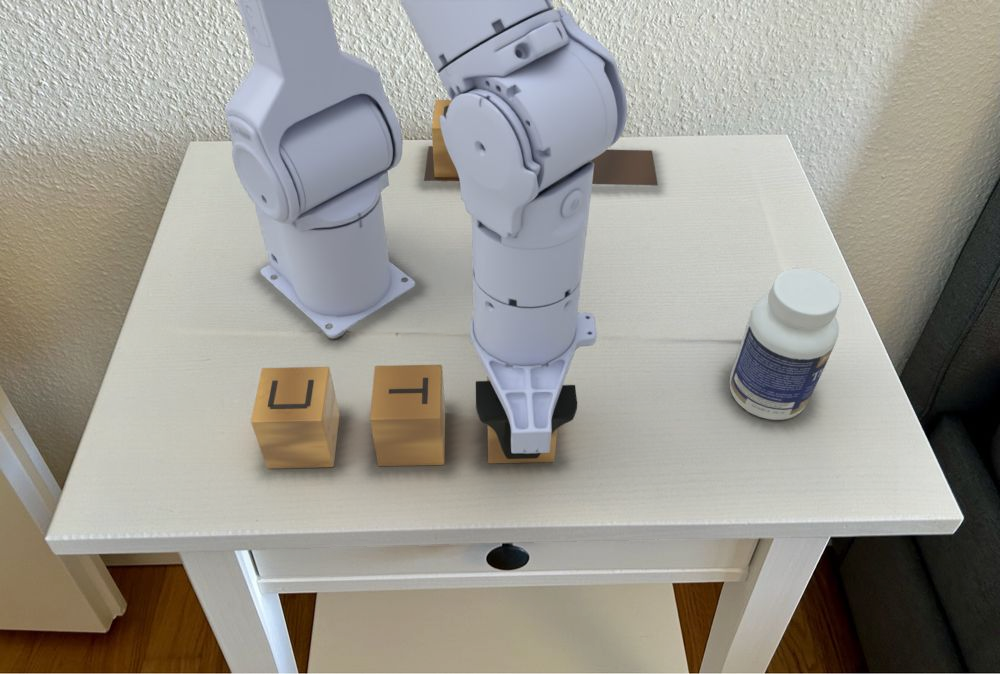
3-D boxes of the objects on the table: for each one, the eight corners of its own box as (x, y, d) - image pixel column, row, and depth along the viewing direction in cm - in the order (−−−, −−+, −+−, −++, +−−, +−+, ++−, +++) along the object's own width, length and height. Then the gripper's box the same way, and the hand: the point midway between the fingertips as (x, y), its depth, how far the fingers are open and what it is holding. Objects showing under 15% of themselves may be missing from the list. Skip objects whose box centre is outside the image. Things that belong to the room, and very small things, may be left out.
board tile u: (434, 177, 73) (431, 127, 69) (438, 148, 75) (435, 98, 72) (483, 178, 72) (483, 128, 69) (485, 149, 75) (484, 99, 72)
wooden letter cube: (488, 463, 54) (488, 416, 50) (487, 410, 57) (486, 362, 53) (554, 462, 54) (558, 414, 50) (549, 409, 57) (553, 360, 53)
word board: (424, 185, 73) (423, 180, 72) (428, 151, 76) (428, 145, 76) (656, 190, 73) (658, 185, 72) (651, 155, 76) (652, 150, 75)
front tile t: (378, 466, 54) (369, 419, 50) (382, 413, 56) (374, 364, 53) (444, 465, 54) (440, 418, 50) (445, 412, 57) (442, 363, 53)
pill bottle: (809, 429, 56) (857, 329, 49) (727, 415, 57) (762, 315, 49) (806, 367, 59) (850, 266, 52) (728, 355, 60) (761, 254, 53)
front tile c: (267, 469, 53) (250, 421, 50) (276, 415, 56) (261, 366, 52) (333, 467, 54) (322, 420, 50) (340, 414, 56) (329, 365, 53)
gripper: (621, 375, 39) (594, 522, 49) (589, 181, 49) (572, 338, 59) (469, 378, 39) (473, 525, 49) (467, 183, 49) (471, 339, 59)
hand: (520, 423), depth 54 cm, fingers closed on wooden letter cube, 4 cm apart
